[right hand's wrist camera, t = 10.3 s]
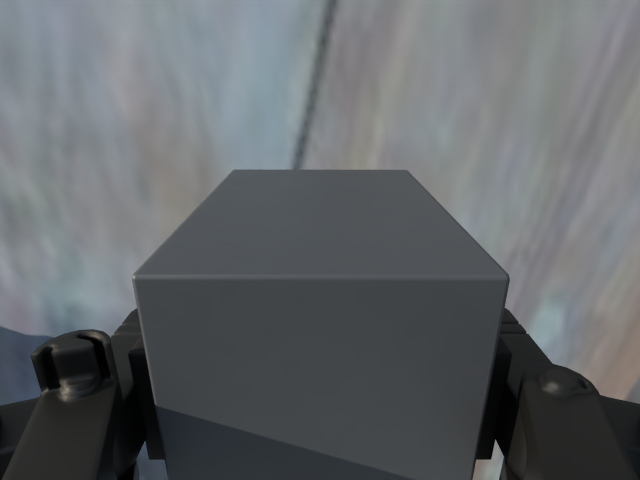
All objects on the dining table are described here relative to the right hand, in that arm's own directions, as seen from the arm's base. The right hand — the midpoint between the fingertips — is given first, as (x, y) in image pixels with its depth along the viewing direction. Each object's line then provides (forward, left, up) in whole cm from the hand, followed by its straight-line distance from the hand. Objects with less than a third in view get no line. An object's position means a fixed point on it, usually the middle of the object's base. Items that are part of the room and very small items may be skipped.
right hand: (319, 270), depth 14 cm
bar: (+3, +9, -1) cm, 10 cm away
